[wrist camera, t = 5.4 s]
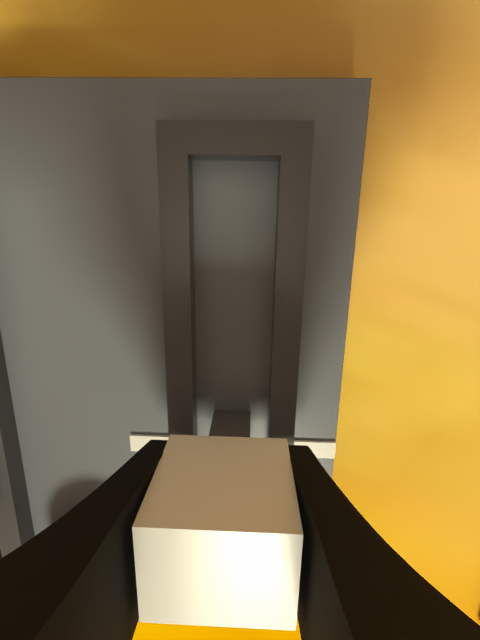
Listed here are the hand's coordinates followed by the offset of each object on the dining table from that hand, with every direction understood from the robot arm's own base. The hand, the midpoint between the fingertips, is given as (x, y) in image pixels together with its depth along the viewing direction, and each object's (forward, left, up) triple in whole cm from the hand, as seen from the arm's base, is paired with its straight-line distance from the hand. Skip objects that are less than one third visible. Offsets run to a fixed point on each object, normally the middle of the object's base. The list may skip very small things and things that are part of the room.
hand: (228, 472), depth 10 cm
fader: (0, 0, -2) cm, 2 cm away
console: (+4, -2, -3) cm, 5 cm away
